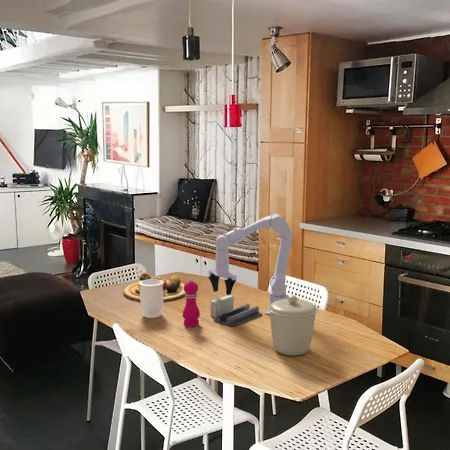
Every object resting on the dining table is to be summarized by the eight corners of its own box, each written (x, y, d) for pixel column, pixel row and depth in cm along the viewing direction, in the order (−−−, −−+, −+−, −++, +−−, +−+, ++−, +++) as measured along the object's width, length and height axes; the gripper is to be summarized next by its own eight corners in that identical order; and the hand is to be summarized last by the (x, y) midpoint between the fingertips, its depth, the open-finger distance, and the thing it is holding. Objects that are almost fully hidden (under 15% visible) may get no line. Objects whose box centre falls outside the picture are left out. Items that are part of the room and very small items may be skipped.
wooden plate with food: (119, 287, 289) (119, 271, 287) (180, 281, 298) (180, 266, 297) (128, 307, 259) (127, 290, 257) (195, 300, 268) (195, 283, 267)
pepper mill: (197, 328, 230) (197, 281, 226) (180, 326, 231) (179, 280, 228) (201, 322, 237) (201, 276, 233) (185, 320, 238) (184, 275, 235)
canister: (284, 337, 220) (285, 285, 216) (325, 349, 209) (327, 294, 205) (257, 351, 206) (258, 296, 202) (299, 364, 195) (301, 306, 191)
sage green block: (228, 309, 253) (228, 294, 252) (234, 311, 251) (234, 296, 250) (210, 316, 244) (210, 300, 243) (216, 318, 242) (216, 302, 241)
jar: (162, 319, 240) (161, 285, 237) (138, 319, 240) (137, 285, 237) (165, 311, 250) (164, 278, 248) (142, 311, 251) (141, 278, 248)
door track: (244, 309, 252) (244, 302, 252) (262, 314, 246) (262, 307, 245) (214, 321, 237) (214, 314, 237) (232, 327, 231) (232, 319, 230)
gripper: (203, 261, 245) (203, 291, 248) (228, 267, 236) (228, 298, 238) (214, 259, 251) (214, 288, 253) (239, 264, 241) (239, 294, 244)
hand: (222, 292), depth 246 cm, fingers open, 7 cm apart
